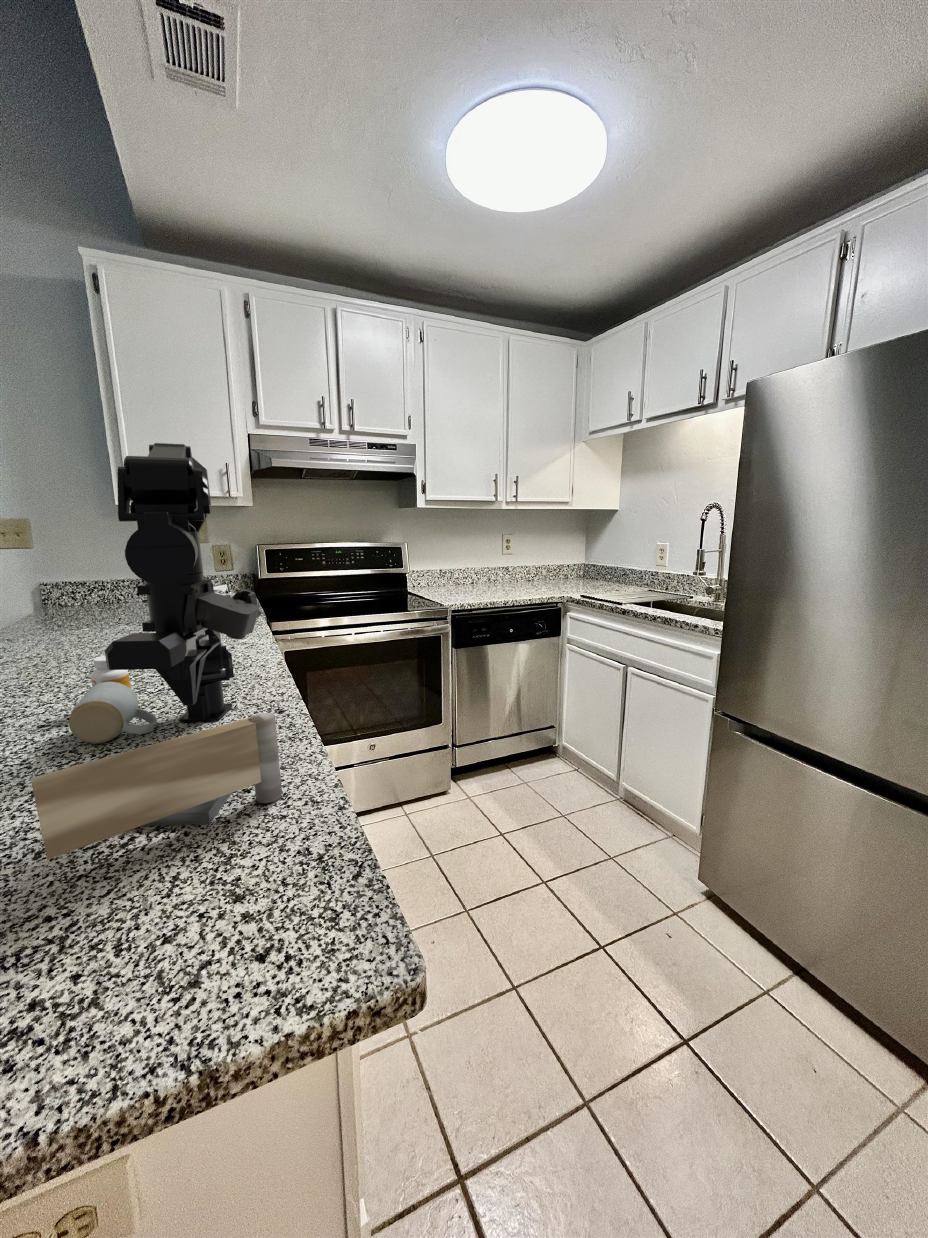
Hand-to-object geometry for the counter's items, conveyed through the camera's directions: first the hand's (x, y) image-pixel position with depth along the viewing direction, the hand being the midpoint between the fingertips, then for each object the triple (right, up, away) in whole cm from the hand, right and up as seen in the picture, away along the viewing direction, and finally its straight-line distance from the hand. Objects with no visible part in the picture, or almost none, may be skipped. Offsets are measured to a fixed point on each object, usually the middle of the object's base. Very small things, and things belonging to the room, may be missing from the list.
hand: (190, 704), depth 60 cm
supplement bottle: (-29, -6, +29) cm, 42 cm away
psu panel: (-4, -12, +2) cm, 13 cm away
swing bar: (+1, -13, -4) cm, 14 cm away
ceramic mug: (-22, -8, +20) cm, 31 cm away
